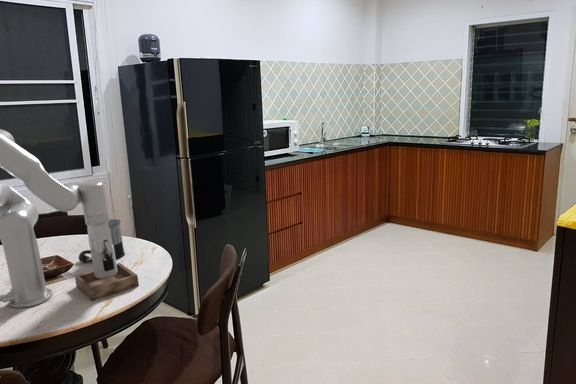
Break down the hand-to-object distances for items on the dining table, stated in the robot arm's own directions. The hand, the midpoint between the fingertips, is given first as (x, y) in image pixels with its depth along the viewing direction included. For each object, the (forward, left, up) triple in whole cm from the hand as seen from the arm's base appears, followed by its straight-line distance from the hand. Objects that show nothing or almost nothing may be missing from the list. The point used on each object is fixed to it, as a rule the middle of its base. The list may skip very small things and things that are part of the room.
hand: (105, 266), depth 154 cm
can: (0, 0, -4) cm, 4 cm away
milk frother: (+8, +29, -8) cm, 31 cm away
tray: (0, 0, -7) cm, 7 cm away
